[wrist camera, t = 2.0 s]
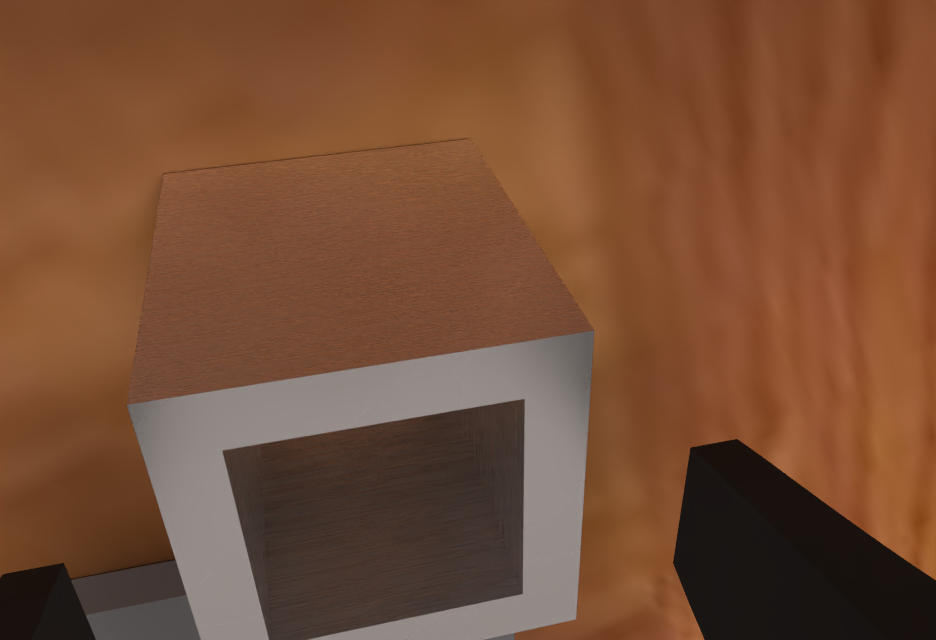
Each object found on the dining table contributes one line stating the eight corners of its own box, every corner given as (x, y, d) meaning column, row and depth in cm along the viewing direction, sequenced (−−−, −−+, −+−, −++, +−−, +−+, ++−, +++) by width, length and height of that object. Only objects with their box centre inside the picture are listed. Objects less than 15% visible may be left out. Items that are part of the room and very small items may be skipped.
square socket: (222, 417, 16) (219, 698, 11) (163, 173, 14) (126, 404, 9) (476, 375, 17) (575, 619, 12) (470, 138, 14) (594, 330, 10)
